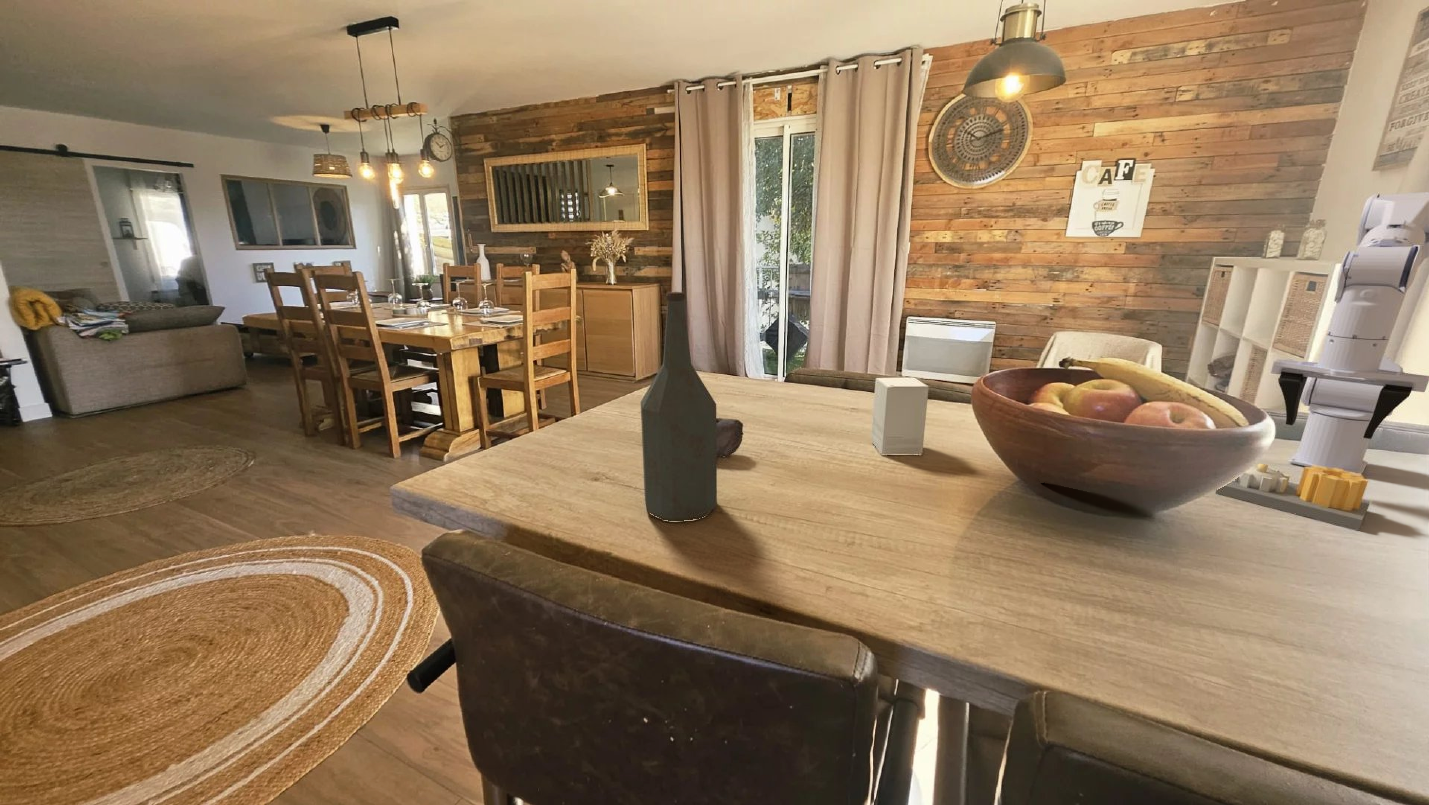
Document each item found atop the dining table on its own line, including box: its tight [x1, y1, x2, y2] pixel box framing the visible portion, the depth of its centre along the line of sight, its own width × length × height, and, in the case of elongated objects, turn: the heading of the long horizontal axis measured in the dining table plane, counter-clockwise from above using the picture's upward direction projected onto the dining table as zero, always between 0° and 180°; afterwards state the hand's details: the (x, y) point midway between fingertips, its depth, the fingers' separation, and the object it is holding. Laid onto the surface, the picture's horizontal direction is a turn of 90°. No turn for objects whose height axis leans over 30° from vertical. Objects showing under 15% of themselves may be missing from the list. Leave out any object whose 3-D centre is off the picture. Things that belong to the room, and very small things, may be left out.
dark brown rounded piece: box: [716, 417, 744, 458], centre depth 96 cm, size 15×5×7 cm, turn 78°
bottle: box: [640, 291, 718, 521], centre depth 73 cm, size 10×10×30 cm
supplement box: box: [870, 376, 930, 455], centre depth 98 cm, size 7×7×13 cm
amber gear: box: [1296, 465, 1369, 511], centre depth 74 cm, size 6×6×4 cm
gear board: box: [1215, 463, 1371, 531], centre depth 77 cm, size 9×14×5 cm, turn 36°
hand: (1327, 430), depth 79 cm, fingers open, 7 cm apart
